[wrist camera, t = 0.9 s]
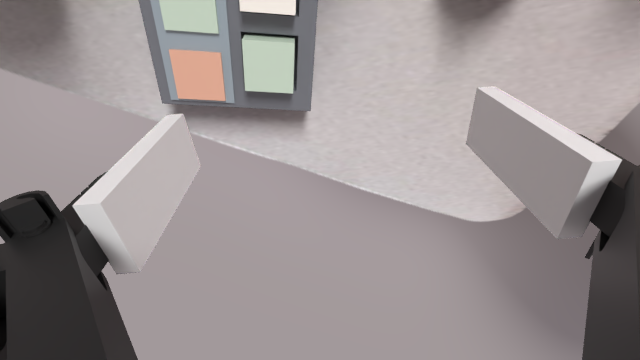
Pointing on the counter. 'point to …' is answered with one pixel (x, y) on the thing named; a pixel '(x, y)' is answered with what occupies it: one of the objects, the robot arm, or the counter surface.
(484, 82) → the counter surface
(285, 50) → the key sage
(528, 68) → the counter surface
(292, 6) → the key cream
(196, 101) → the keypad
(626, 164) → the robot arm
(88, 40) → the counter surface
